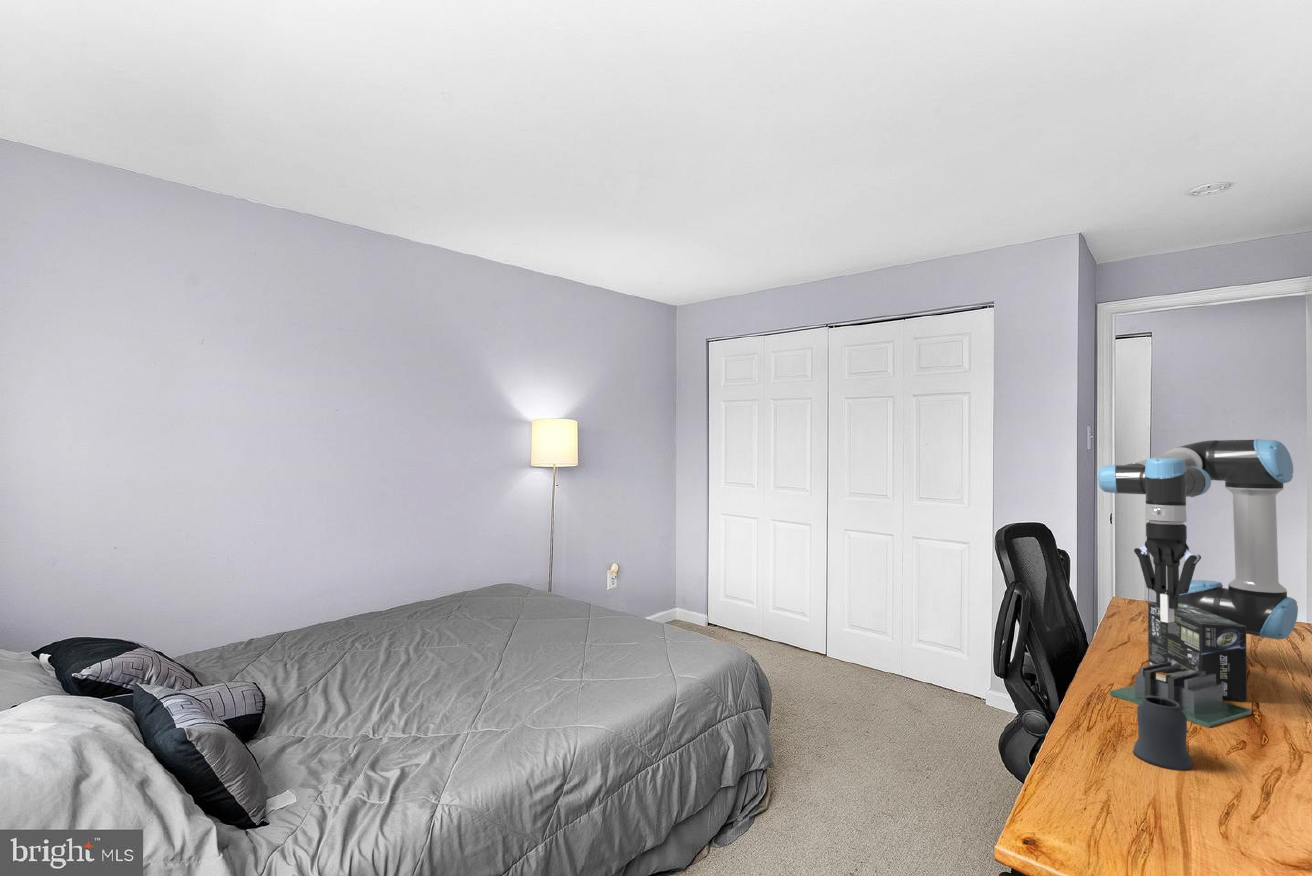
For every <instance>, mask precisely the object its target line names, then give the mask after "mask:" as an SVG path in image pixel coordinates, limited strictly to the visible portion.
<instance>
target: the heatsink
mask: <svg viewBox="0 0 1312 876" xmlns="http://www.w3.org/2000/svg"><path fill="white" fill-rule="evenodd" d="M1139 668H1140V672H1139V673H1136V674H1134V684H1133V685H1129V686H1125V687H1121V688H1116V689H1112V690H1110V692H1109V694H1110V696H1112V697H1115V698H1119V699H1122V700H1124V701H1128V702H1130V703H1132V704H1133V703H1134V704H1136V705H1139V704H1140V703H1141V702H1142V700H1143V698H1144V696H1158V697H1163V698H1167V699H1171V700H1173V701H1176V702H1177V703H1179V704H1180V706H1181V710H1182V711H1183V713H1184V714H1185V716H1186V717H1187V722H1190V723H1194V724H1197V725H1200V726H1202V727H1206V728H1211V727H1215V726H1217V725H1218V726H1219V725H1221V724H1224V723H1227V722H1231V721H1234V720H1238V719H1241V718H1244V717H1248V716H1250V715H1252V709H1249V708H1246V707H1242V706H1239V705H1235V704H1231V703H1228V702H1225V701H1223V697H1222V684H1220V683H1216V674H1214V673H1211V674H1206V671H1203V670H1202V671H1198V672H1194V673H1189V674H1185V675H1181V676H1177V677H1168V681H1167V682H1165V681H1161V680H1158V679H1156V673H1159V672H1162V673H1166V674H1168V673H1174V672H1180V671H1186V670H1188V669H1181V665H1180V664H1176V665H1171V662H1164V663H1159V664H1155V665H1150V666H1148V665H1146V666H1141V667H1139Z"/></svg>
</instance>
